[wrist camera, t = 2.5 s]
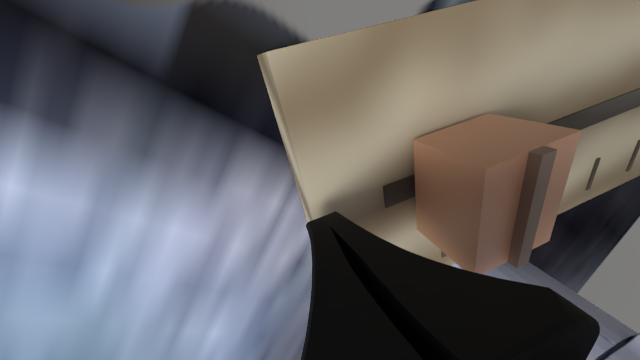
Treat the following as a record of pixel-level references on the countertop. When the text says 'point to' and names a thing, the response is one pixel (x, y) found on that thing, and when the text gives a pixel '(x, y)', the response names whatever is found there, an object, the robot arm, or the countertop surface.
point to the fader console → (454, 100)
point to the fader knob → (491, 188)
